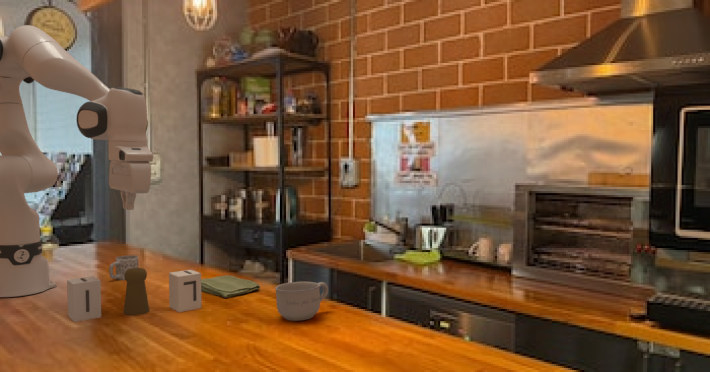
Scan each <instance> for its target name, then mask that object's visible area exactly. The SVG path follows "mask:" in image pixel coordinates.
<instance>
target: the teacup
mask: <svg viewBox="0 0 710 372" xmlns="http://www.w3.org/2000/svg"><path fill="white" fill-rule="evenodd" d="M321 287H322V289H323V290H322V293H320V292H321V291H320V288H321ZM274 289H275V296H276V297H275V298H276V309H277V312H278V313H279V315H281V316H282V317H283V318H284V319H285V320H287V321H293V322H298V321H305V320H310V319H311V318H313V317H314V316H315V315H316V314H317V313H318V312H319V310H320V307H321V303H322V301H323V300H324V299H325V298H326V297H327V295H328V293H329V286H328V285H327V283H326V282H323V281H320V282H313V281H293V282H285V283H280V284H279V285H277V286H275V288H274Z"/></svg>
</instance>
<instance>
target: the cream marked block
mask: <svg viewBox="0 0 710 372" xmlns="http://www.w3.org/2000/svg"><path fill="white" fill-rule="evenodd" d="M201 279H202V273H201V272H199V271H195V270H194V269H187V270H186V269H185V270H179V271H178V270H177V271H173V272H172V271H171V272H168V294H169V296H168V299H169V301H168V302H169V305H168V306H169V308H171V310H174V311H175V310H176V312H177V313H182V312H187V311H193V310H198V309H202V292H201Z"/></svg>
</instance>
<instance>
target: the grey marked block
mask: <svg viewBox="0 0 710 372" xmlns="http://www.w3.org/2000/svg"><path fill="white" fill-rule="evenodd" d="M101 286H102V285H101V280H100V279H98V278H97V277H95V276H93V275H91V276H87V277H86V276H85V277H78V278H72V279H71V278H69V279H66V289H67V316H68V318H69V319H70V320H71V321H72V322H74V323H76V322H82V321H87V320H93V319H98V318H102V293H101V292H102V290H101V288H102V287H101Z"/></svg>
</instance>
